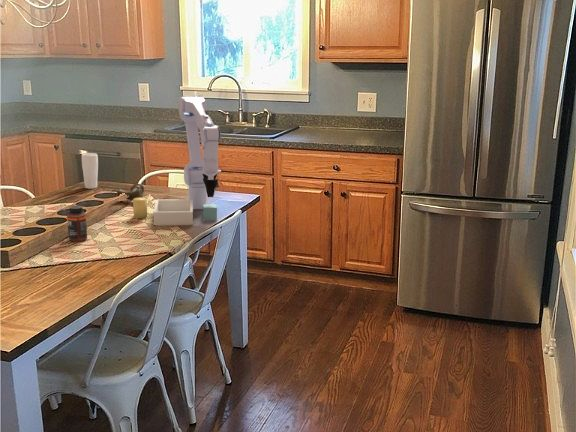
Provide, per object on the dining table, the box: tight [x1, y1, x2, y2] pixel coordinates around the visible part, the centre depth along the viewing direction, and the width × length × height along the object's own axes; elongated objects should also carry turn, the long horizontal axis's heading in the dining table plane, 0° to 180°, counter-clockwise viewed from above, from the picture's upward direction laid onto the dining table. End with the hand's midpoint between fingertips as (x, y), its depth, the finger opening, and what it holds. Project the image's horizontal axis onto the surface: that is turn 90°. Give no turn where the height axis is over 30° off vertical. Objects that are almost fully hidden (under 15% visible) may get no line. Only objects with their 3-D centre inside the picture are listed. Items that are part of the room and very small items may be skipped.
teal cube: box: [202, 203, 218, 221], centre depth 237 cm, size 5×5×5 cm
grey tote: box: [153, 199, 194, 227], centre depth 235 cm, size 18×14×5 cm
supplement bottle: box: [66, 205, 88, 243], centre depth 206 cm, size 6×6×11 cm
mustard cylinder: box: [132, 197, 148, 219], centre depth 234 cm, size 5×5×7 cm
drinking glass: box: [81, 152, 99, 190], centre depth 273 cm, size 7×7×15 cm
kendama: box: [116, 183, 145, 201], centre depth 258 cm, size 6×10×20 cm
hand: (210, 194), depth 235 cm, fingers open, 7 cm apart
